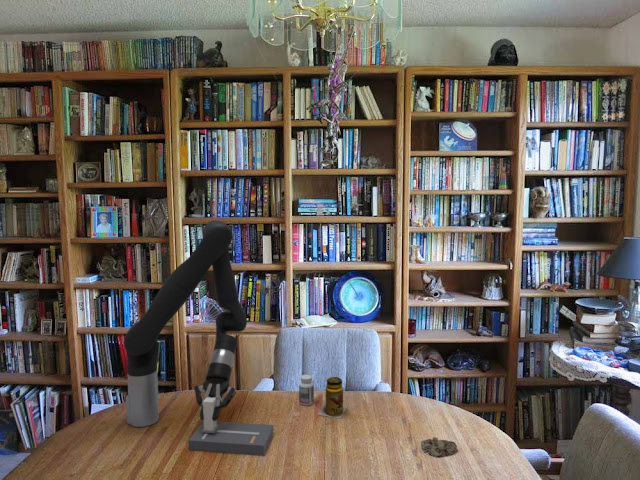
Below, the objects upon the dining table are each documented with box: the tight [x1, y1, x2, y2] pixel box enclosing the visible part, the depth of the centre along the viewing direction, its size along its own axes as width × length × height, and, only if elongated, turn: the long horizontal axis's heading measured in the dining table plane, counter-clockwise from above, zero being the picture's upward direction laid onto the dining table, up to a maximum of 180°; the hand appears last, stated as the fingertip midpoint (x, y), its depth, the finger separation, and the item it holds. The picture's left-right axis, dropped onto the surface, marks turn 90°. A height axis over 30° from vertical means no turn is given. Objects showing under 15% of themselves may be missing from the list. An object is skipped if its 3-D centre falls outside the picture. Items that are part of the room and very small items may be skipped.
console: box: [188, 420, 274, 456], centre depth 143 cm, size 23×12×3 cm, turn 83°
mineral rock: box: [420, 436, 458, 458], centre depth 138 cm, size 11×4×8 cm
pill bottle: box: [298, 374, 315, 406], centre depth 169 cm, size 5×5×10 cm
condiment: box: [317, 376, 347, 419], centre depth 161 cm, size 7×8×12 cm
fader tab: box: [202, 397, 219, 433], centre depth 143 cm, size 4×4×10 cm
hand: (208, 419), depth 141 cm, fingers closed on fader tab, 3 cm apart
